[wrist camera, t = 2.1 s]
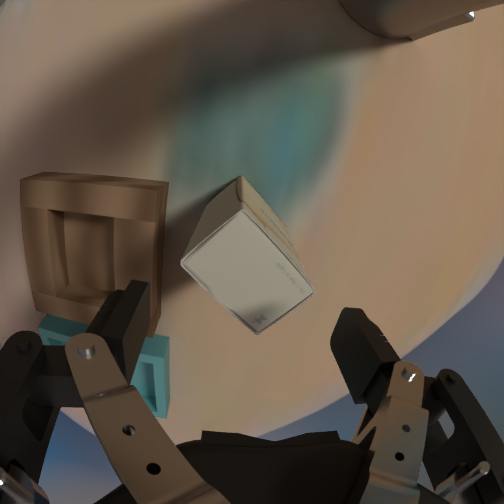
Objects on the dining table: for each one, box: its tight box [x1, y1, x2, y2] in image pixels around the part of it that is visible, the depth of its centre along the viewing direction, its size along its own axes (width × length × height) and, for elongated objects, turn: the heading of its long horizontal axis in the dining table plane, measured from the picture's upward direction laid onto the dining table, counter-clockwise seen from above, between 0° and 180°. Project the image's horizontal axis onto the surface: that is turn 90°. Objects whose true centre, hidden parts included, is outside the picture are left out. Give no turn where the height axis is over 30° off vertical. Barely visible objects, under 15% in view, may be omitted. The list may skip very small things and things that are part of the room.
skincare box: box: [180, 176, 315, 335], centre depth 20 cm, size 6×4×12 cm
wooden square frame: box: [20, 172, 169, 338], centre depth 24 cm, size 14×14×4 cm
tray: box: [38, 314, 170, 419], centre depth 30 cm, size 16×12×4 cm
